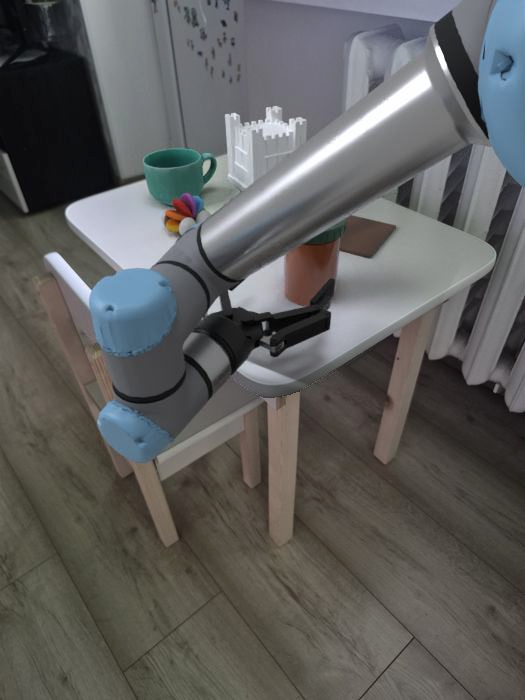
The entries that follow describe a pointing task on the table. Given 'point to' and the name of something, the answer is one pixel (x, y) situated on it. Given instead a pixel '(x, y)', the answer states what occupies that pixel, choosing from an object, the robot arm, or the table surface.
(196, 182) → the mug
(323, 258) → the jar
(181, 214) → the rainbow fan wheeled toy
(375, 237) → the coaster
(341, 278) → the table surface
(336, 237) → the lid
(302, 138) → the castle model
